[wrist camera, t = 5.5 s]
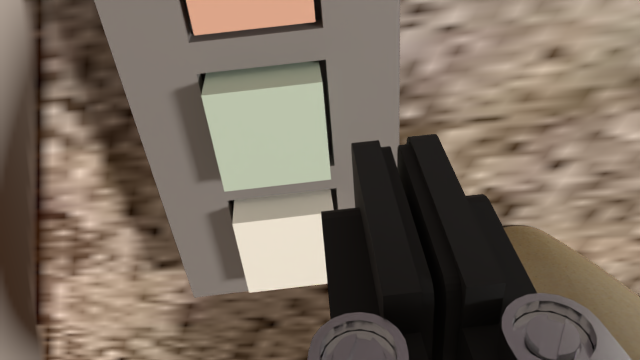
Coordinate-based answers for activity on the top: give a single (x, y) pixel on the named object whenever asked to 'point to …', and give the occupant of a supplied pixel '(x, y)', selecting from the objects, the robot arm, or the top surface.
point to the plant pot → (579, 283)
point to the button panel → (240, 53)
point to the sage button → (268, 125)
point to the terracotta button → (247, 14)
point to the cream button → (282, 239)
